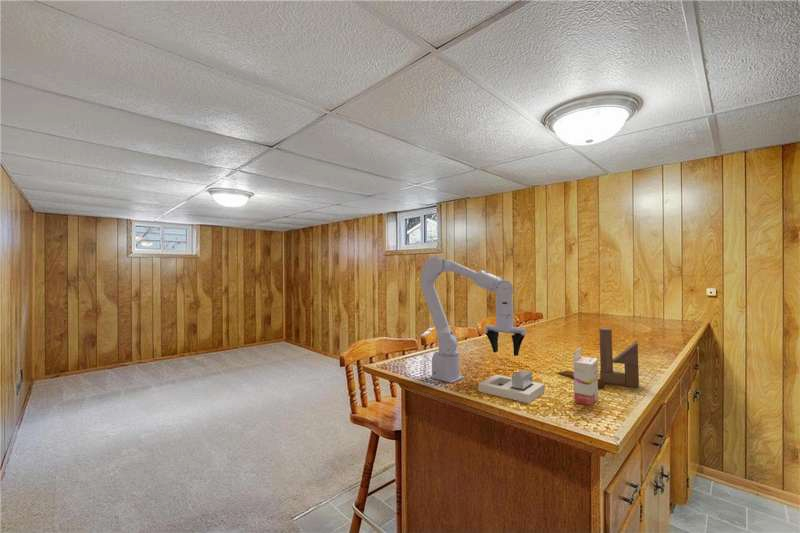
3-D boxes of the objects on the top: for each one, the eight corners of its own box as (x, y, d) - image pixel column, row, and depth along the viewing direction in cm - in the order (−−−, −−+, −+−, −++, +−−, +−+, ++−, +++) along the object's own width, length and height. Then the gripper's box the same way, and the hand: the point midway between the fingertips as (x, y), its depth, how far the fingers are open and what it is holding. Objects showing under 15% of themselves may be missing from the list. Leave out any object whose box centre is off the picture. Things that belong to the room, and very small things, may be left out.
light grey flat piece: (478, 391, 112) (478, 383, 112) (496, 381, 121) (496, 374, 121) (528, 403, 101) (528, 394, 101) (544, 392, 110) (544, 384, 110)
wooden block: (639, 387, 112) (637, 331, 112) (600, 383, 117) (598, 329, 117) (637, 384, 115) (636, 329, 115) (600, 380, 120) (598, 327, 120)
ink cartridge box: (593, 406, 98) (591, 353, 98) (573, 402, 101) (572, 351, 101) (599, 397, 104) (597, 348, 104) (580, 394, 107) (579, 346, 108)
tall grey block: (512, 394, 107) (511, 375, 107) (521, 388, 112) (521, 370, 112) (523, 397, 105) (522, 377, 105) (532, 391, 110) (532, 371, 110)
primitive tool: (555, 374, 129) (555, 364, 129) (567, 372, 131) (567, 363, 131) (597, 391, 111) (597, 380, 111) (611, 389, 112) (611, 378, 112)
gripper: (529, 314, 120) (530, 354, 120) (491, 312, 130) (492, 348, 130) (521, 317, 115) (522, 358, 115) (481, 314, 125) (482, 352, 124)
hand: (505, 353), depth 122 cm, fingers open, 7 cm apart
